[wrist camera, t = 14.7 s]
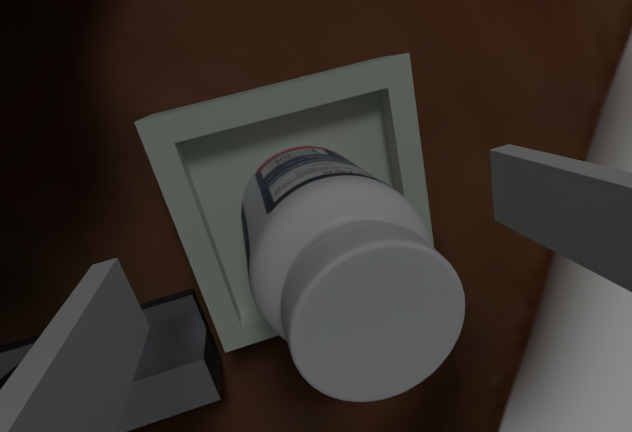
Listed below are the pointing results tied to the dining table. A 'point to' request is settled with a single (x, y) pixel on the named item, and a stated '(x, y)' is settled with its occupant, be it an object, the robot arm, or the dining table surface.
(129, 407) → the socket
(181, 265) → the dining table surface
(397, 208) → the pill bottle
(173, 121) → the tray
